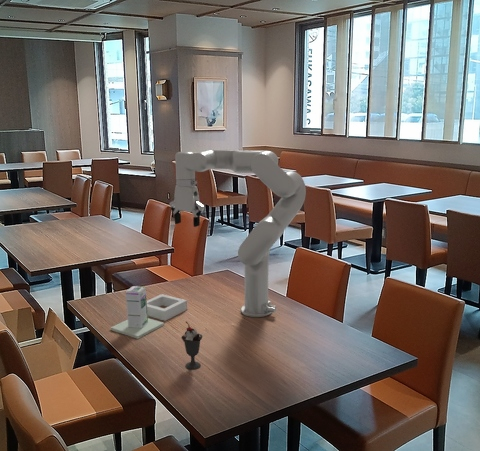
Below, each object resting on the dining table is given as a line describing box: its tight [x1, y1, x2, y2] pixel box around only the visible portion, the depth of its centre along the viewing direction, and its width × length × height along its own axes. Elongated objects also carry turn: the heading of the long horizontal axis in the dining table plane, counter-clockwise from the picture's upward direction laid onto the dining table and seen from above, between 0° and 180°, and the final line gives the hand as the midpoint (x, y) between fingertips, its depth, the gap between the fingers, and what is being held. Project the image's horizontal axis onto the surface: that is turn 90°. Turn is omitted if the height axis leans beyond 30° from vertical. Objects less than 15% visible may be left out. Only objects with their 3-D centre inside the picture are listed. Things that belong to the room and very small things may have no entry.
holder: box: [146, 293, 188, 322], centre depth 211 cm, size 14×14×4 cm
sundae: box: [181, 321, 203, 370], centre depth 166 cm, size 7×7×15 cm
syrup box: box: [125, 285, 149, 328], centre depth 195 cm, size 6×6×14 cm
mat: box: [110, 317, 165, 340], centre depth 196 cm, size 14×14×1 cm
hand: (187, 224), depth 211 cm, fingers open, 9 cm apart
